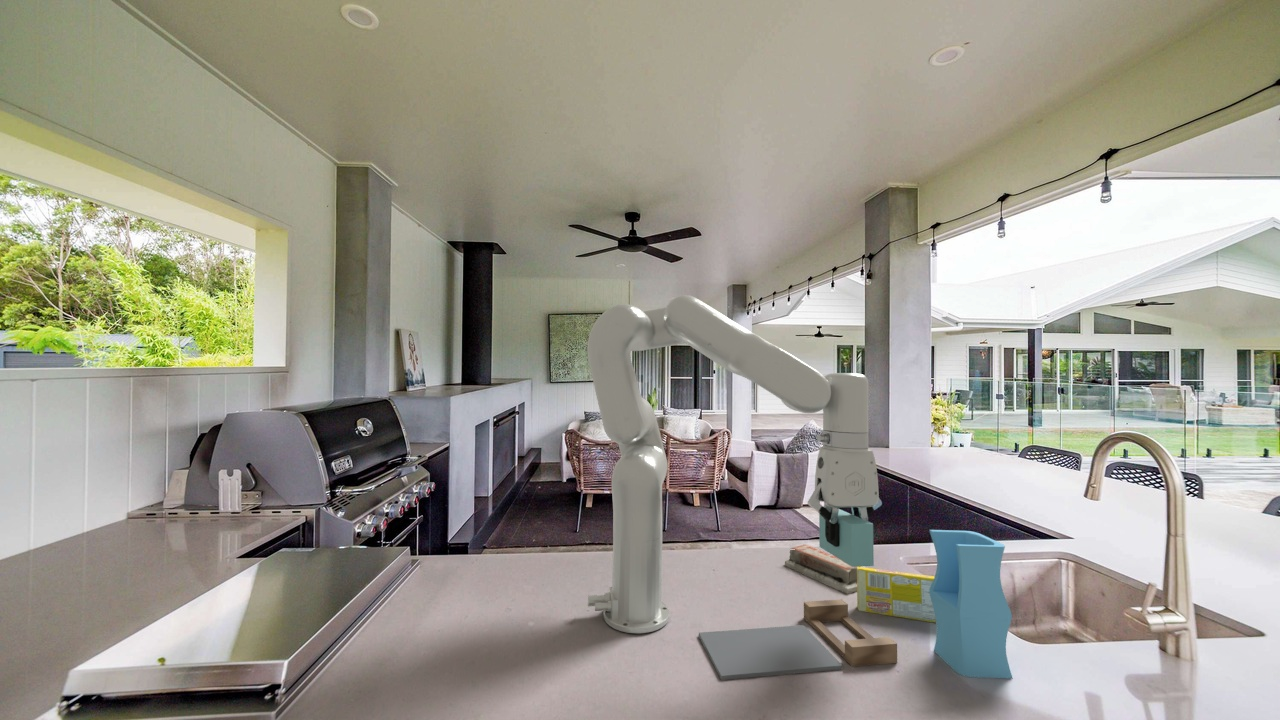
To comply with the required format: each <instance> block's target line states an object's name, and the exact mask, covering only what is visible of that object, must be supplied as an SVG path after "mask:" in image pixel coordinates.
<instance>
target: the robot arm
mask: <svg viewBox="0 0 1280 720" xmlns="http://www.w3.org/2000/svg"><path fill="white" fill-rule="evenodd" d="M681 344H685V345H688V346H690V347H691V348H693V349H694V350H695V351H697V352H699V353H701V354H702V355H704V356H705V357H707V358H708V359H710V360H711V361H712V362H714V363H715V364H717V365H719V367H722V368H723V369H725V370H727V372H730V373H732V374H734V375H737V376H740V377H741V378H742V377H743V378H744V379H747V380H748V381H751V382H752V383H754V384H755V385H758V386H759V387H761V388H763V389H764V390H766V391H767V392H769V393H770V394H772V395H773V396H775V397H776V398H778V399H780V400H781V402H782V404H783V405H785V406H786V407H788V409H790V410H793V411H795V412H799V413H802V414H815V413H817V412H821V411H823V412H822V431H821V432H822V433H821V434H817V436H816V439H817V441H818V443H822V444H821V445H822V446H820V447H819V451H818V454H817V460H816V466H815V475H814V490H813V492H812V494H811V496H810V497H809V499H808V501H807V505H808V506H809V507H811V508H812V509H813V510H815V511H816V512H818V515H819V514H820V515H821V516H822V517H823V519H825V537H826V540H827V542H829V543H830V544H832V545H833V546H835V547H839V530H840V526H839V524H838V523H837V517H838V512H839V509H840V508H841V509H842V508H846V509H847V508H849V509H850V508H851V514H852V515H854V516H856V517H859V518H861V519H863V520H866V521H868V522H869V518H870V516H871V515H872V514H873V513H874V511H875V510H877V509H878V508H880V507H882V505H883V502H882V500H881V499H880V497H879V496H880V495H879V494H880V493H879V478H878V470H877V469H878V468H877V462H876V459H875V454H874V451H873V449H869V379H868V377H867V376H865V374H862V373H857V372H855V373H853V372H831V373H829V374H822V373H821V372H819V371H818V370H817V369H815V368H813V367H812V366H810V365H808V364H807V363H805V362H804V361H802V360H800V359H799V358H797V357H796V356H794V355H792V354H791V353H789V352H787V351H786V350H784V349H782V348H781V347H779V346H777V345H775V344H773V343H771V342H769V341H768V340H766V339H764V338H762V337H761V336H760V335H758V334H756V333H754V332H752V331H750V330H749V329H747V328H746V327H744V326H742V325H741V324H739V323H737V322H736V321H734V320H732V319H731V318H729V317H727V316H726V315H725V314H723V313H721V312H720V311H718V310H717V309H715V308H713V306H711V305H708V304H707V303H705V302H704V301H702V300H700V299H698V298H697V297H695V296H692V295H689V294H681V295H678V296H675V297H674V298H672V299H671V300H670V301H669V302H668V303H667V305H666V307H661V308H657V309H651V310H645V311H644V310H641V309H640V308H639V307H637V306H635V305H634V304H633V305H632V304H630V303H619V304H615V305H613V306H612V307H610V308H608V309H606V310H605V311H604V312H603V313H602V314H600V315H599V317H598V318H597V319H596V320H595V322H594V324H593V326H592V327H591V330H590V332H589V336H588V338H587V359H588V364H589V369H590V374H591V377H592V381H593V386H594V390H595V391H594V392H595V396H596V400H597V403H598V404H597V405H598V409H599V412H600V417H601V422H602V427H603V430H604V432H605V434H606V436H607V437H608V438H609V440H611V442H614V443H616V444H618V448H619V452H620V455H621V456H620V457H619V459H618V460H617V462H616V464H615V465H614V468H613V470H612V475H611V494H612V495H611V496H612V510H613V511H612V513H613V514H612V515H613V516H612V518H613V519H612V522H613V523H612V524H613V525H612V536H613V537H612V582H611V583H612V585H611V586H609V589H608V590H609V591H607V592H604V594H588V595H587V606H588V607H594V611H595V612H600V611H603V620H604V622H605V623H606V624H607V625H608V626H609V627H611V629H612V628H613V629H614V630H616V631H619V632H623V633H628V634H646V633H647V634H648V633H652V632H655V631H658V630H660V629H662V628H664V626H666V625H667V624H668V623H669V620H670V609H669V607H668V606H667V605H666V603H665V602H664V601H663V600H662V592H663V591H662V589H663V588H662V587H663V583H662V581H663V577H662V576H663V484H664V482H665V480H666V478H667V477H666V476H667V474H668V470H669V469H668V460H667V455H666V451H665V446H664V443H663V438H662V435H661V431H660V427H659V423H658V420H657V416H656V413H655V411H654V409H653V406H652V405H651V404H650V402H649V401H648V400H646V399H645V398H644V397H642V395H641V392H640V388H639V384H638V381H637V375H636V371H635V368H634V365H633V363H632V362H633V361H632V359H631V358H632V357H631V356H632V355H631V351H632V352H642V351H649V350H653V349H660V348H664V347H665V348H666V347H671V346H676V345H677V346H678V345H681ZM820 502H823V503H824V504H823V505H822V504H821V503H820Z"/></svg>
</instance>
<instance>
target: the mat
mask: <svg viewBox="0 0 1280 720" xmlns="http://www.w3.org/2000/svg"><path fill="white" fill-rule="evenodd" d="M698 637H699V640H700V641H701V643H702V645H703V647H704V649H705V651H706V653H707V655H708V657H709V658H710V659H709V660H711V663H712V664H713V667H714V669H715V670H716V672H717V674H718V677H719V679H720V680H721V681H724V680H726V681H727V680H736V679H737V680H738V679H748V678H758V677H770V676H779V675H783V676H784V675H792V674H802V673H803V674H804V673H815V672H825V671H835V670H837V671H838V670H843V664H841V662H840V661H839V660H838V659H837V658H836V657H835V656H834V655H833V654H832V653H831V652H830V650H828V649H827V648H826V647H825V646H824V645H823V643H822V642H820V640H819V639H817V637H816V636H815V635H814V634H813V633H812V632H811V631H810V630H809V629H808V628H807V627H806V626H805V625H804V624H799V625H787V626H786V625H785V626H775V627H774V626H773V627H761V628H748V629H747V628H745V629H732V630H718V631H704V632H698Z"/></svg>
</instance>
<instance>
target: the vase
mask: <svg viewBox="0 0 1280 720" xmlns="http://www.w3.org/2000/svg"><path fill="white" fill-rule="evenodd" d="M929 534H930V537H931V540H932V542H933V545H934V551H935V554H936V562H937V563H936V569H935V570H936V572H935V575H934V576H935V577H934V580H933V582H932V584H931V587H930V589H929V592H930V598H931V601H932V604H933V608H934V612H935V617H936V623H935V624H936V638H935V643H934V648H933V651H934V652H935V653H936V655H938V656H939V657H940V658H941V659H942V660H943V661H944V662H945V663H946V664H947V665H948V666H949V667H950V668H951V669H952V670H953V671H954V672H955V673H957V674H959V675H961V676H963V677H967V678H984V679H985V678H986V679H987V678H988V679H1011V680H1012V679H1013V675H1012V672H1011V668H1010V665H1009V660H1008V656H1007V639H1008V638H1007V637H1008V632H1009V630H1010V629H1009V628H1010V626H1011V623H1012V611H1011V609H1010V607H1009V604H1008V601H1007V598H1006V597H1005V593H1004V590H1003V586H1002V582H1001V581H1002V580H1001V566H1002V560H1003V555H1004V551H1005V548H1006V545H1004V544H1003V543H1001V542H999V541H997V540H995V539H993V538H990V537H989V536H987V535H984V534H981V533H979V532H976V531H971V530H956V529H955V530H950V529H949V530H947V529H946V530H945V529H929Z"/></svg>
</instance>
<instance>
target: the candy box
mask: <svg viewBox="0 0 1280 720" xmlns="http://www.w3.org/2000/svg"><path fill="white" fill-rule="evenodd" d="M934 577H935V575H925V574H918V573H911V572H910V573H909V572H902V571H895V570H887V569H879V568H871V567H865V566H863V567H857V591H856V594H857V599H856V601H857V603H856V605H857V610H858V611H859V612H863V613H864V612H866V613H872V614H878V615H885V616H890V617H895V618H903V619H910V620H914V621H915V620H916V621H921V622H929V623H934V624H937V623H936V617H935V612H934V608H933V604H932V601H931V598H930V592H929V589H930V587H931V584H932V582H933V580H934Z"/></svg>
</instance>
